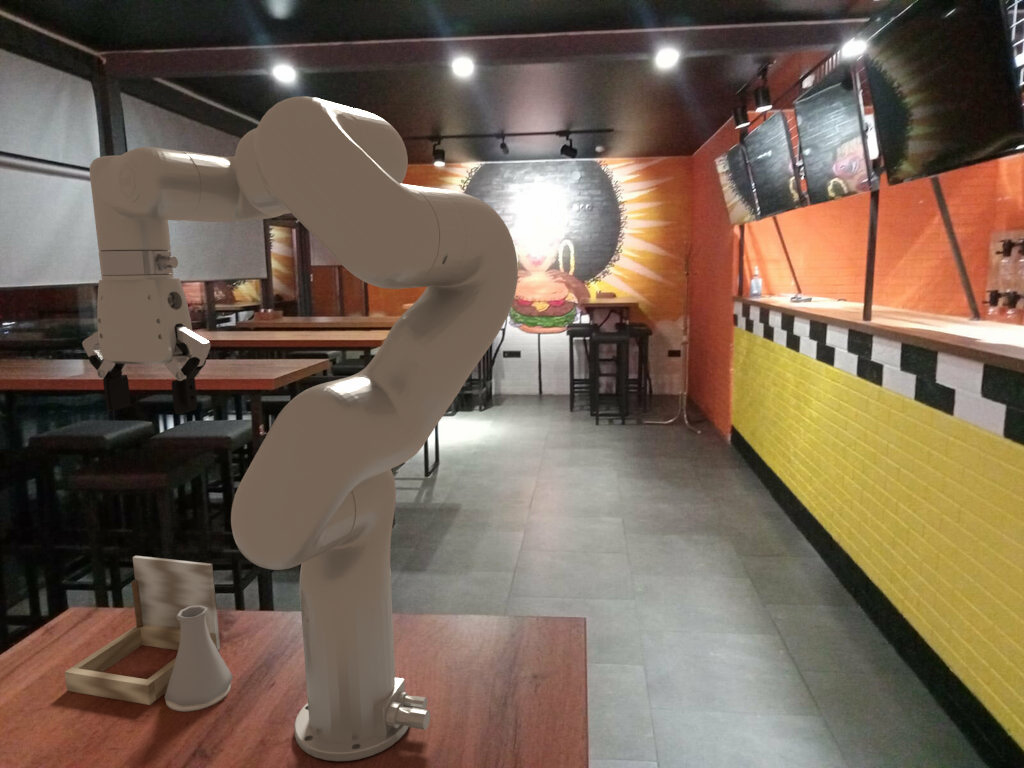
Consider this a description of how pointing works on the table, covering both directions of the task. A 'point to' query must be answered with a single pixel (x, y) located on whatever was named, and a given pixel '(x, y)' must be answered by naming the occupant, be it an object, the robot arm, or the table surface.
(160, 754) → the table surface
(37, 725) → the table surface
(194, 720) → the table surface
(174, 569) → the open-lid wooden box
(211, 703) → the white domed disc
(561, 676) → the table surface
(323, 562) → the robot arm
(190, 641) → the flask
